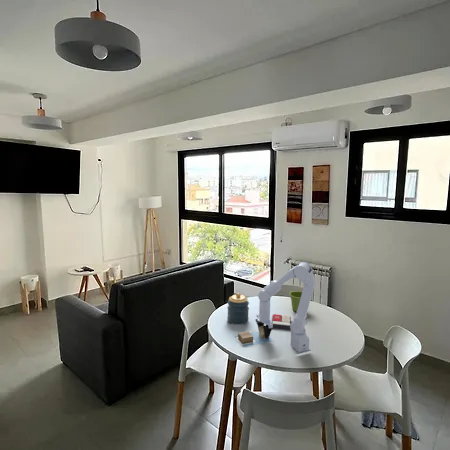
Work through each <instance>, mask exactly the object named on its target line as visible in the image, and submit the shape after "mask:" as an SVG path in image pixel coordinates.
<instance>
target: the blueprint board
mask: <svg viewBox="0 0 450 450" xmlns="http://www.w3.org/2000/svg"><path fill="white" fill-rule="evenodd" d="M250 333H251V335H252V336H253V342H249V343H244V344H242V342H241V341H240V340H239V339H238V334H237V335H234V338H235V339H236V340H237V341H238V343H239V344H240V345H241V346H242V348H245V347H250V346H257V345H261V344H266V343H271V342H275V340H274V339H273V338H272V337H271V335H270V336H269V338H264V339H262V338H261V337H260V336H259V331H255V332H253V331H252V332H250Z"/></svg>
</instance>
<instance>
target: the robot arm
mask: <svg viewBox="0 0 450 450" xmlns="http://www.w3.org/2000/svg"><path fill="white" fill-rule="evenodd" d="M296 278H297V279H298V280H300V281H301V283H302V284H303V285H304V286H303V289H302V291H301V292H302V295H301V299H300V302H299V306H298V309H297V312H296V314H295V316H294V317H293V321H291V324H290V329H291V330H290V343H289V344H290V347H291V348H293V349H295V350H296V351H297V353H296V354H302V353H306V352H310V351H311V349H310V338H309V336H307V333H306V332H307V331H306V328H305V327H306V325H307V323H308V321H307V314H308V310H309V308H310V307H309V306H310V304H311V299H312V298H313V292H314V289H315V286H316V279H315V276H314V272H313V267H312V266H311V265H310V264H309V262H306V261H301V262H300V263H299V264H297V265H295V266H293V267H292V268H291V269H289V270H288V271H286V273H285V274H284V275H282V276H281V277H280V278H279V279H277V280H275V279H274V280H271V281H270V282H269V283H268V284H267V285H266V286H263V289H262V290H260V291H259V292H258V294H257V297H258V300H259V309H258V310H259V311H258V312H259V313H256V319H255V323H256V325H257V329H258V330H259V327H261V326H263V329H264V334H265V338H269V336H270V337H271V333H272V330H273V329H275V328H274V326H273V324H272V319H271V298H272V297H273V296H275V294H277V293H278V292H279V291H281V290H282V286H283V285H284V284H285V283H286V282H288V281H289V280H291V279H296Z"/></svg>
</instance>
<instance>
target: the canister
mask: <svg viewBox="0 0 450 450" xmlns="http://www.w3.org/2000/svg"><path fill="white" fill-rule="evenodd" d="M249 305H250V302H249V300H248V298H247V296H245V295H243V294H240V293H239V292H237V293H236V294H233V295H232V296H229V298H228V300H227V307H226V308H227V322H228V323H229V324H230V325H232V324H233V325H244V324H247V323H248V322H249V320H250V318H249V310H250V308H249Z"/></svg>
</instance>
